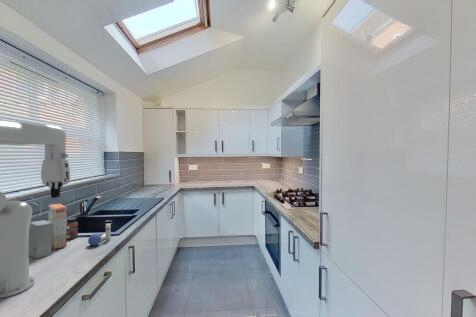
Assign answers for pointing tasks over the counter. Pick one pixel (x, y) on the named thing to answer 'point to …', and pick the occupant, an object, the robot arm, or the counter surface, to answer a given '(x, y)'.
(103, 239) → the cream pin
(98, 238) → the ball
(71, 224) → the supplement bottle
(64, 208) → the cracker box
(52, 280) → the counter surface
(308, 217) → the counter surface
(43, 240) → the skincare box
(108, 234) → the grey pin
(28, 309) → the counter surface
